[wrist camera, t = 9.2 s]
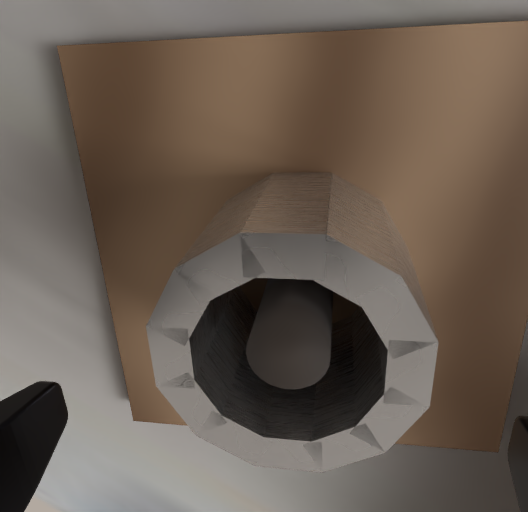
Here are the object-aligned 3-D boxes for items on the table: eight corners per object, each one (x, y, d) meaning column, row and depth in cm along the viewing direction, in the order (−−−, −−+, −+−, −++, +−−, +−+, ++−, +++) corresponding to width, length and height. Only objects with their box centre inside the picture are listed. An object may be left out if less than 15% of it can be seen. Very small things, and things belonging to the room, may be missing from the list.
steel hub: (415, 172, 13) (452, 236, 9) (397, 357, 16) (419, 482, 11) (198, 172, 14) (129, 230, 10) (215, 346, 17) (167, 456, 12)
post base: (575, 19, 12) (740, -3, 7) (490, 431, 17) (548, 582, 13) (75, 46, 14) (-71, 43, 9) (143, 403, 20) (75, 522, 15)
